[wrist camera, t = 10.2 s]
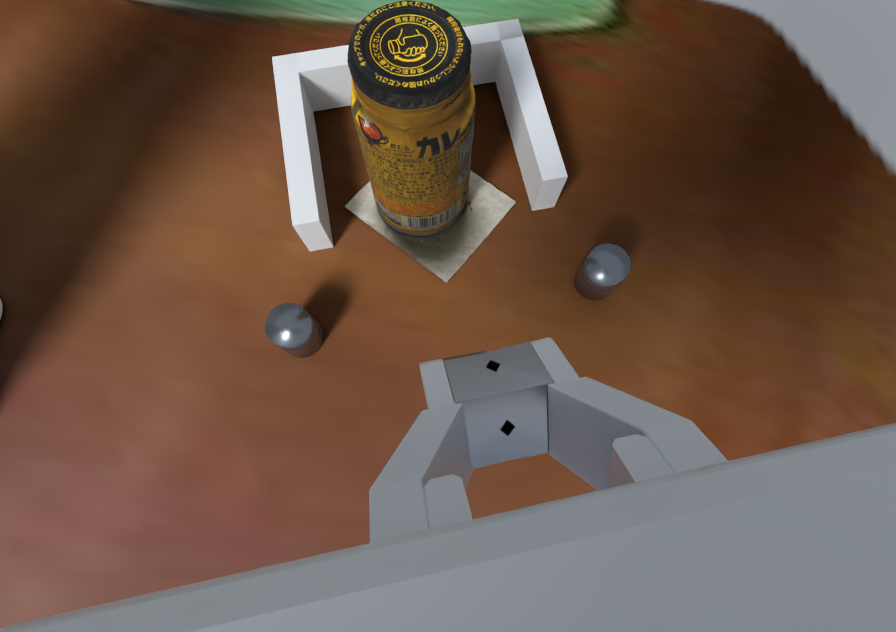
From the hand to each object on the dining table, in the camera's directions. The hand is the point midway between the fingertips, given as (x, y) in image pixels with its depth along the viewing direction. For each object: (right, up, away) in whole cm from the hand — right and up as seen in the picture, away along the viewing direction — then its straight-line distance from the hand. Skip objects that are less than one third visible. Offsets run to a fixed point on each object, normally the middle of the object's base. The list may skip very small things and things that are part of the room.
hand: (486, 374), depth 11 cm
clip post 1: (-9, 0, +17) cm, 20 cm away
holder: (-3, +13, +21) cm, 25 cm away
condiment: (-2, +8, +20) cm, 22 cm away
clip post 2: (+8, +3, +19) cm, 21 cm away
